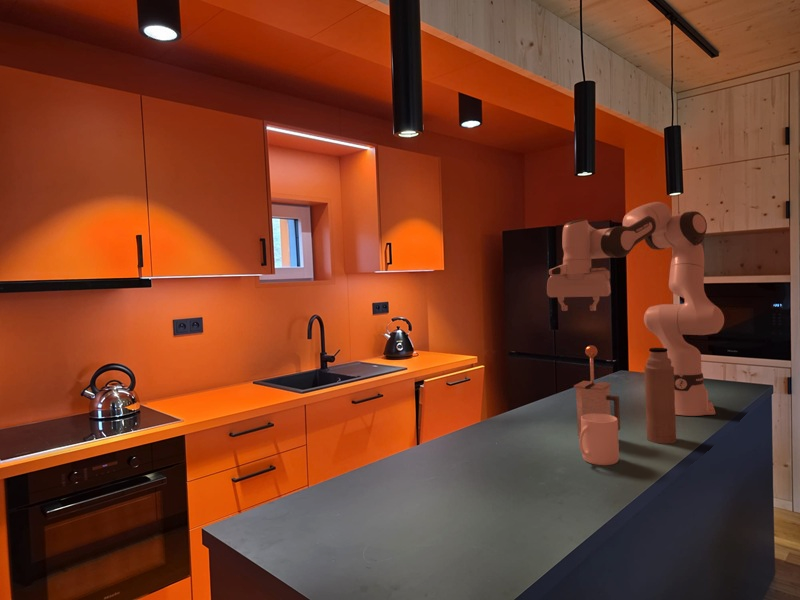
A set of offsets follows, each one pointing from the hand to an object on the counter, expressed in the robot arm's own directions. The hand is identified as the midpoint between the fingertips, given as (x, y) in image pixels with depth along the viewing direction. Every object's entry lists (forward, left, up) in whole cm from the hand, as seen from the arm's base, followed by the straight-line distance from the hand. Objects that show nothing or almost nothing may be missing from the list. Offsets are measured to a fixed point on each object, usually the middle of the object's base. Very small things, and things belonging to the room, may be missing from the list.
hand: (578, 310), depth 170 cm
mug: (+28, +14, -40) cm, 51 cm away
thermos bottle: (0, +24, -40) cm, 46 cm away
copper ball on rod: (+9, +7, -28) cm, 30 cm away
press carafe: (+9, +8, -39) cm, 41 cm away
